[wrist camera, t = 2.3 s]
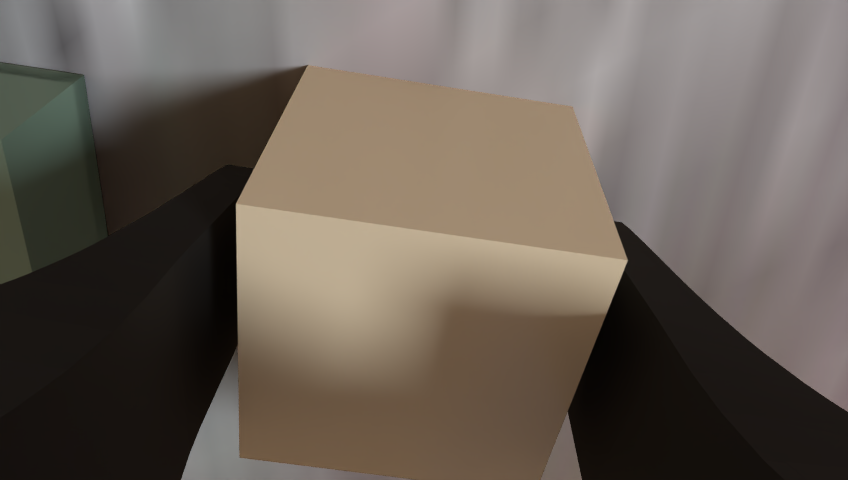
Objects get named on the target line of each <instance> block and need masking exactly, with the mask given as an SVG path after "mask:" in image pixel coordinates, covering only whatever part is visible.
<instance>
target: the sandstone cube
mask: <svg viewBox="0 0 848 480" xmlns="http://www.w3.org/2000/svg"><path fill="white" fill-rule="evenodd" d="M236 243H237V312H238V382H239V451H240V458H247V459H255V460H263V461H271V462H279V463H287V464H295V465H303V466H311V467H319V468H327V469H335V470H343V471H351V472H359V473H367V474H375V475H383V476H391V477H399V478H407V479H415V480H540V479H541V477H542V474H543V472H544V469H545V467H546V464H547V462H548V459H549V457H550V454H551V452H552V449H553V447H554V444H555V442H556V439H557V437H558V434H559V432H560V429H561V427H562V424H563V422H564V419H565V417H566V414H567V412H568V409H569V407H570V404H571V402H572V399H573V397H574V394H575V392H576V389H577V387H578V384H579V381H580V379H581V376H582V374H583V371H584V369H585V366H586V364H587V361H588V359H589V356H590V354H591V351H592V349H593V346H594V344H595V341H596V339H597V336H598V334H599V331H600V329H601V326H602V324H603V321H604V319H605V316H606V314H607V311H608V309H609V306H610V304H611V301H612V299H613V296H614V294H615V291H616V289H617V286H618V284H619V281H620V279H621V276H622V274H623V271H624V269H625V266H626V264H627V261H628V260H627V257H626V254H625V251H624V248H623V246H622V243H621V240H620V237H619V235H618V232H617V229H616V226H615V223H614V221H613V218H612V215H611V212H610V210H609V207H608V204H607V201H606V198H605V196H604V193H603V190H602V187H601V185H600V182H599V179H598V176H597V173H596V171H595V168H594V165H593V162H592V160H591V157H590V154H589V151H588V148H587V146H586V143H585V140H584V137H583V135H582V132H581V129H580V126H579V123H578V121H577V118H576V115H575V112H574V110H573V107H572V106H565V105H559V104H552V103H546V102H540V101H533V100H527V99H520V98H514V97H508V96H501V95H495V94H488V93H482V92H476V91H469V90H463V89H457V88H450V87H444V86H437V85H431V84H425V83H418V82H412V81H405V80H399V79H393V78H386V77H380V76H373V75H367V74H361V73H354V72H348V71H342V70H335V69H329V68H322V67H316V66H310V65H308V66H307V68H306V70H305V72H304V73H303V75H302V77H301V79H300V81H299V83H298V85H297V87H296V89H295V91H294V93H293V95H292V97H291V99H290V100H289V102H288V104H287V106H286V108H285V110H284V112H283V114H282V116H281V118H280V120H279V122H278V124H277V126H276V127H275V129H274V131H273V133H272V135H271V137H270V139H269V141H268V143H267V145H266V147H265V149H264V151H263V153H262V154H261V156H260V158H259V160H258V162H257V164H256V166H255V168H254V170H253V172H252V174H251V176H250V178H249V180H248V182H247V183H246V185H245V187H244V189H243V191H242V193H241V195H240V197H239V199H238V201H237V203H236Z"/></svg>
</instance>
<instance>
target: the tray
mask: <svg viewBox="0 0 848 480" xmlns="http://www.w3.org/2000/svg"><path fill="white" fill-rule="evenodd" d="M106 237H108V233H107V226H106V220H105V213H104V206H103V200H102V193H101V186H100V180H99V173H98V166H97V159H96V153H95V146H94V139H93V133H92V126H91V119H90V112H89V106H88V99H87V92H86V86H85V79H84V75H80V74H74V73H67V72H60V71H54V70H47V69H41V68H34V67H27V66H21V65H14V64H7V63H1V62H0V284H2V283H5V282H8V281H11V280H14V279H16V278H19V277H21V276H24V275H26V274H29V273H31V272H34V271H36V270H38V269H41V268H43V267H45V266H48V265H50V264H52V263H55V262H57V261H59V260H61V259H64V258H66V257H68V256H70V255H72V254H74V253H77V252H79V251H81V250H83V249H85V248H87V247H89V246H91V245H93V244H95V243H97V242H99V241H100V240H102V239H104V238H106Z"/></svg>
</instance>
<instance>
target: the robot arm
mask: <svg viewBox="0 0 848 480" xmlns="http://www.w3.org/2000/svg"><path fill="white" fill-rule="evenodd" d="M253 170H254V169H252V168H245V167H238V166H232V165H226V166H224V167H222V168H221V169H219V170H217V171H216V172H214V173H213V174H211V175H209V176H208V177H206V178H205V179H203V180H202V181H200V182H199V183H197V184H195V185H194V186H192V187H191V188H189V189H188V190H186V191H185V192H183V193H181V194H180V195H178V196H177V197H175V198H173V199H172V200H170V201H169V202H167V203H165V204H164V205H162V206H160V207H159V208H157V209H156V210H154V211H152V212H151V213H149V214H148V215H146V216H144V217H142V218H141V219H139V220H137V221H135V222H133V223H131V224H130V225H128V226H126V227H124V228H122V229H120V230H119V231H117V232H115V233H113V234H111V235H110V236H108V237H106V238H104V239H102V240H100V241H99V242H97V243H95V244H93V245H91V246H89V247H87V248H85V249H83V250H81V251H79V252H77V253H74V254H72V255H70V256H68V257H66V258H64V259H61V260H59V261H57V262H55V263H52V264H50V265H48V266H45V267H43V268H41V269H38V270H36V271H34V272H31V273H29V274H26V275H24V276H21V277H19V278H16V279H14V280H11V281H8V282H5V283H2V284H0V480H181V478H182V475H183V472H184V469H185V466H186V463H187V460H188V457H189V454H190V451H191V449H192V446H193V444H194V441H195V439H196V436H197V434H198V431H199V429H200V426H201V424H202V422H203V420H204V418H205V415H206V413H207V411H208V409H209V407H210V404H211V402H212V400H213V398H214V396H215V393H216V391H217V389H218V387H219V385H220V382H221V380H222V378H223V376H224V374H225V371H226V369H227V367H228V365H229V363H230V360H231V358H232V356H233V354H234V352H235V349H236V347H237V345H238V312H237V243H236V203H237V201H238V199H239V197H240V195H241V193H242V191H243V189H244V187H245V185H246V183H247V182H248V180H249V178H250V176H251V174H252V172H253ZM614 223H615V226H616V229H617V232H618V235H619V237H620V240H621V243H622V246H623V248H624V251H625V254H626V257H627V260H628V261H627V264H626V266H625V269H624V271H623V274H622V276H621V279H620V281H619V284H618V286H617V289H616V291H615V294H614V296H613V299H612V301H611V304H610V306H609V309H608V311H607V314H606V316H605V319H604V321H603V324H602V326H601V329H600V331H599V334H598V336H597V339H596V341H595V344H594V346H593V349H592V351H591V354H590V356H589V359H588V361H587V364H586V366H585V369H584V371H583V374H582V376H581V379H580V381H579V384H578V387H577V389H576V392H575V394H574V397H573V399H572V402H571V404H570V407H569V409H568V415H569V419H570V424H571V429H572V434H573V438H574V443H575V448H576V453H577V457H578V462H579V467H580V472H581V476H582V480H848V412H847V411H845V410H844V409H842V408H841V407H839V406H838V405H836V404H834V403H833V402H831V401H830V400H828V399H827V398H825V397H824V396H822V395H821V394H819V393H818V392H817V391H815V390H814V389H812V388H811V387H809V386H808V385H806V384H805V383H803V382H802V381H801V380H799V379H798V378H797V377H795V376H794V375H793V374H791V373H790V372H789V371H787V370H786V369H785V368H783V367H782V366H781V365H779V364H778V363H777V362H775V361H774V360H773V359H771V358H770V357H769V356H767V355H766V354H765V353H763V352H762V351H761V350H760V349H758V348H757V347H756V346H755V345H753V344H752V343H751V342H750V341H748V340H747V339H746V338H745V337H744V336H743V335H741V334H740V333H739V332H738V331H737V330H736V329H734V328H733V327H732V326H731V325H730V324H729V323H728V322H726V321H725V320H724V319H723V318H722V317H721V316H719V315H718V314H717V313H716V312H715V311H714V310H713V309H712V308H711V307H710V306H708V305H707V304H706V303H705V302H704V301H703V300H702V299H701V298H700V297H699V296H698V295H697V294H696V293H695V292H693V291H692V290H691V289H690V288H689V287H688V286H687V285H686V284H685V283H684V282H683V281H682V280H681V279H680V278H679V277H678V276H677V275H676V274H675V273H674V272H673V271H672V270H671V269H670V268H669V267H668V266H667V265H666V264H665V263H664V262H663V261H662V260H661V259H660V258H659V257H658V256H657V255H656V254H655V253H654V252H653V251H652V250H651V249H650V248H649V247H648V246H647V245H646V244H645V243H644V242H643V241H642V240H641V239H640V238H639V237H638V236H637V235H635V234H634V233H633V232H632V231H631V230H630V229H629V228H628V227H627V226H625V225H624V224H623V223H622V222H615V221H614Z"/></svg>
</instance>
